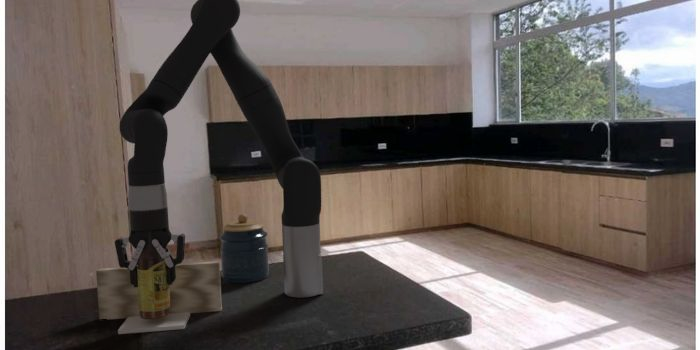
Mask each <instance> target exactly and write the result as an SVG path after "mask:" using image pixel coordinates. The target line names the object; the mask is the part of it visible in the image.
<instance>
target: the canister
mask: <svg viewBox="0 0 700 350" xmlns="http://www.w3.org/2000/svg"><path fill="white" fill-rule="evenodd" d="M264 227H265V224H263V223H261V222H260V221H259V220H255V219H248V215H247V214H246V213H241V214H239V215H238V217H237V220H234V221H229V222H227V223H226V224H225V225H223V226H222V229H221V230H222V231H223V233H221V234H220V236H219V239H220V240H221V247H220V259H221V269H220V276H221V277H222V280H223V281H225V282H226V283H227V282H228V283H232V284H233V283H234V284H246V283H253V282H258V281H261V280H265V279H266V278H267V277H269V272H270V266H269V251H268V249H269V248H268V247H269V244H268V243H267V239H266V238H267V236H268V232H266V231H265V230H264V229H263V228H264Z"/></svg>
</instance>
